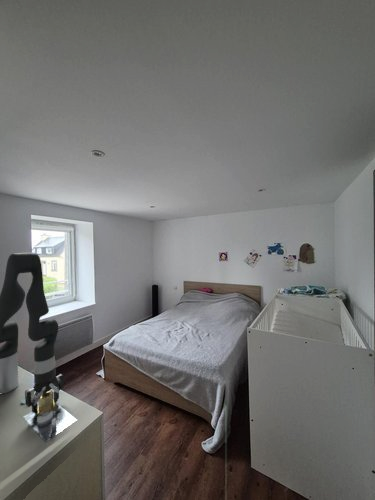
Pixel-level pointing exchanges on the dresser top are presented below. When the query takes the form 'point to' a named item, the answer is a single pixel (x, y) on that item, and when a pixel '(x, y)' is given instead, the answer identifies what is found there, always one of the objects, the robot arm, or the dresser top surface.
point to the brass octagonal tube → (46, 402)
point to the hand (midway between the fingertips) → (46, 406)
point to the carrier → (50, 422)
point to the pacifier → (31, 398)
